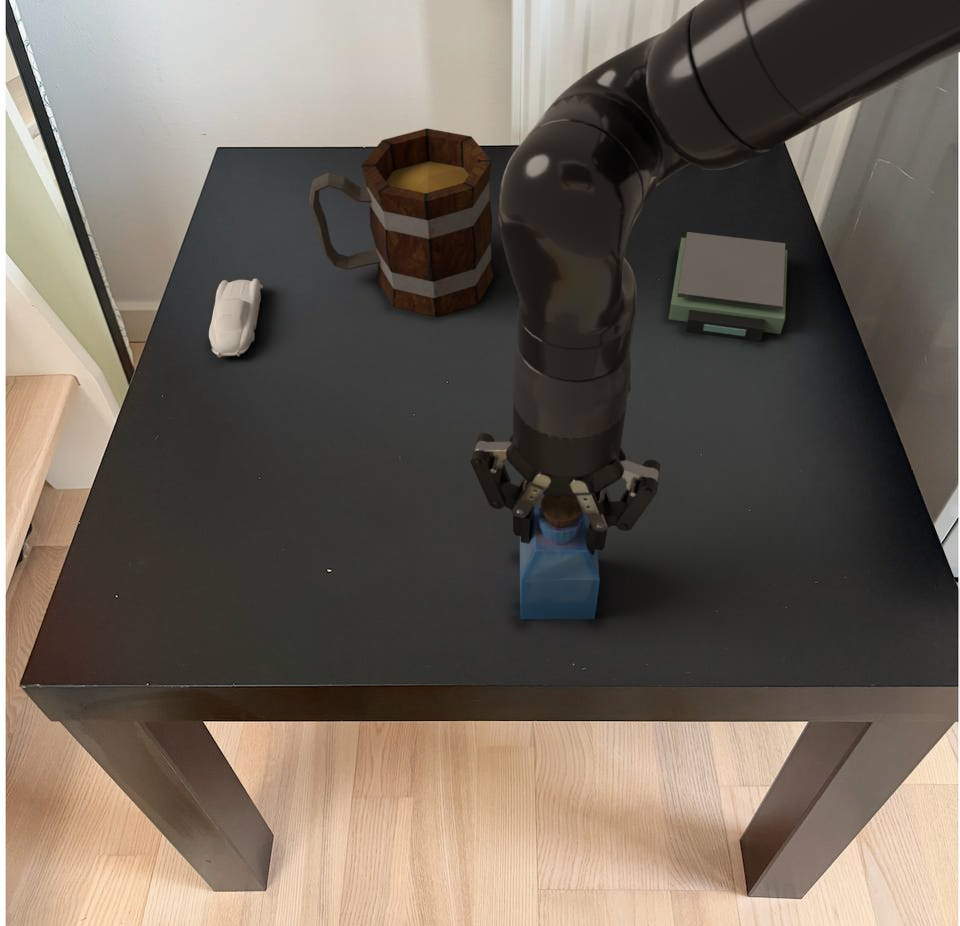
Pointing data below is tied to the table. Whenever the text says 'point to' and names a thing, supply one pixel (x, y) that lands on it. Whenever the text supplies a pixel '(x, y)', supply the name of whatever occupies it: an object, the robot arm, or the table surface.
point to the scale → (725, 313)
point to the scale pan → (733, 271)
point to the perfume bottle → (558, 564)
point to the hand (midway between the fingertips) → (559, 539)
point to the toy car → (234, 317)
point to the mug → (422, 220)
